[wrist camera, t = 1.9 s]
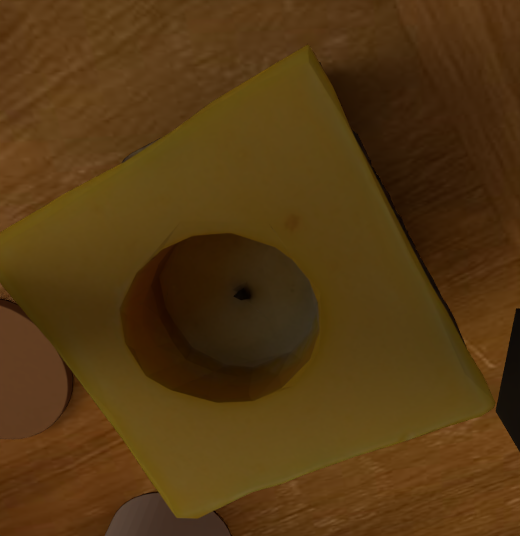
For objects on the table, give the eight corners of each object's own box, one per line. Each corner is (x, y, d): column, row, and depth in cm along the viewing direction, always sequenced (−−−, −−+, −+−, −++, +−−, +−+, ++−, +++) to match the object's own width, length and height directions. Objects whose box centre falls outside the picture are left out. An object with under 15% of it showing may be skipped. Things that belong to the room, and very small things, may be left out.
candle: (429, 276, 22) (515, 413, 12) (233, 366, 24) (182, 537, 15) (321, 58, 19) (327, 24, 10) (115, 183, 22) (-34, 250, 13)
